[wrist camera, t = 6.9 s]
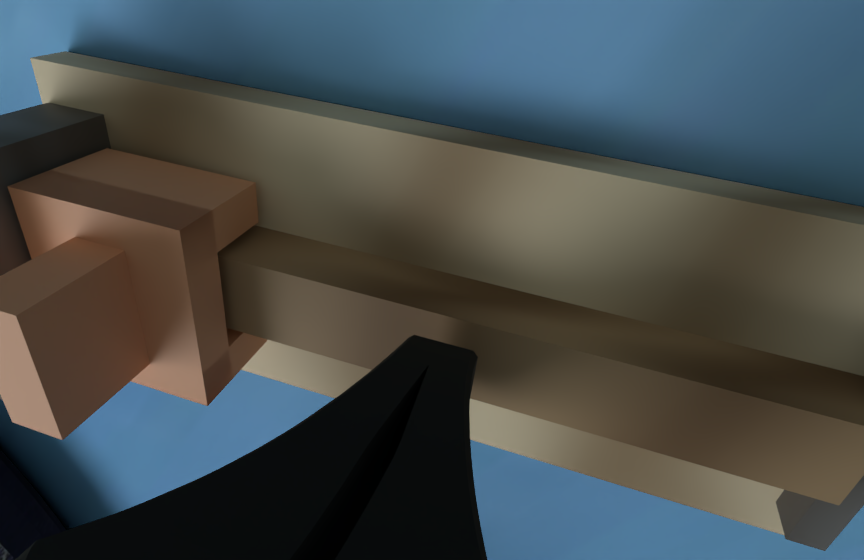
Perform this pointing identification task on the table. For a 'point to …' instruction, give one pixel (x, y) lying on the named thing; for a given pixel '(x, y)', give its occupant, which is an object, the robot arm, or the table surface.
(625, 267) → the rail board
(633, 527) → the table surface
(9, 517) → the dish
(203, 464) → the table surface
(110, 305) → the slider
